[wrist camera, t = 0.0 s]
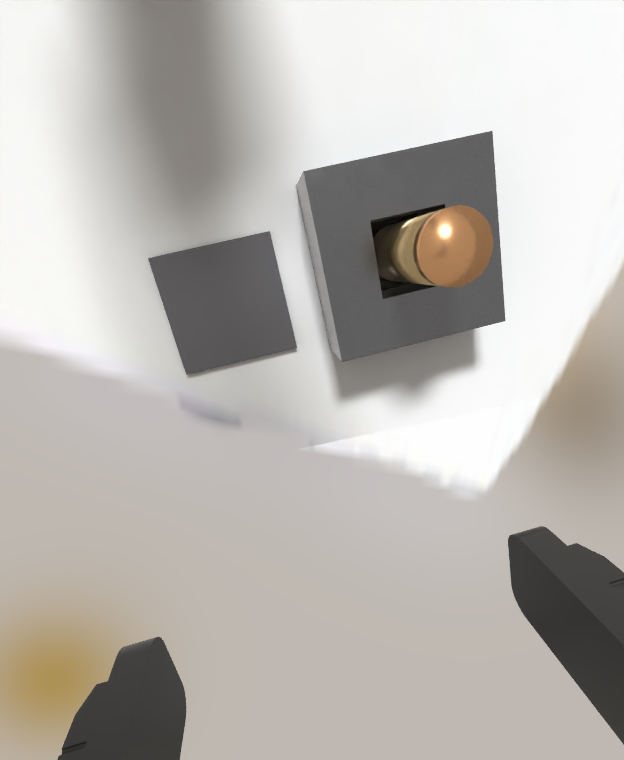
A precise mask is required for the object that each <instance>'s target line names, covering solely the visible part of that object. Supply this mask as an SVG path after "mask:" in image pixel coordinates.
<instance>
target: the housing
mask: <svg viewBox="0 0 624 760" xmlns="http://www.w3.org/2000/svg"><path fill="white" fill-rule="evenodd" d="M296 187H297V191H298V196H299V201H300V206H301V210H302V215H303V220H304V225H305V230H306V234H307V239H308V244H309V249H310V253H311V258H312V263H313V268H314V273H315V277H316V282H317V287H318V292H319V297H320V301H321V306H322V311H323V316H324V320H325V325H326V330H327V335H328V340H329V344H330V349H331V350H332V351H333V353H334V354H335V355H336V356H337V357H338V358H339V359H340V360H341V361H342V362H343V361H347V360H351V359H355V358H359V357H363V356H367V355H371V354H375V353H379V352H383V351H387V350H391V349H395V348H399V347H403V346H407V345H411V344H415V343H419V342H423V341H427V340H431V339H435V338H439V337H443V336H447V335H451V334H455V333H459V332H463V331H467V330H471V329H475V328H479V327H483V326H487V325H491V324H495V323H499V322H503V321H505V310H504V295H503V280H502V266H501V251H500V237H499V222H498V207H497V193H496V178H495V164H494V149H493V134H492V131H490V132H485V133H480V134H476V135H471V136H466V137H462V138H457V139H452V140H448V141H443V142H438V143H434V144H429V145H424V146H420V147H415V148H410V149H406V150H401V151H396V152H392V153H387V154H382V155H378V156H373V157H368V158H364V159H359V160H354V161H350V162H345V163H340V164H336V165H331V166H326V167H322V168H317V169H312V170H308V171H303V173H302V175H301V177H300V179H299V181H298V183H297V185H296ZM457 205H463V206H469V207H472V208H474V209H476V210H477V211H479V212H480V213H481V214H482V215H483V216H484V217H485V218H486V219H487V221H488V223H489V225H490V227H491V230H492V234H493V250H492V255H491V258H490V261H489V263H488V265H487V266H486V268H485V270H484V271H483V272H482V273H481V274H480V275H479V277H477V278H476V279H475V280H474V281H472V282H470V283H469V284H466V285H464V286H461V287H443V286H434V285H424V284H415V283H412V284H408V285H404V286H400V287H395V288H391V289H387V290H383V291H381V285H380V279H379V273H378V267H377V260H376V254H375V248H374V242H373V236H372V229H371V223H373V222H378V221H382V220H387V219H391V218H396V217H400V216H404V215H409V214H413V213H418V214H419V216H421V215H425V214H428V213H431V212H435V211H438V210H441V209H445V208H448V207H451V206H457Z"/></svg>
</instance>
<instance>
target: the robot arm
mask: <svg viewBox="0 0 624 760" xmlns="http://www.w3.org/2000/svg"><path fill="white" fill-rule="evenodd" d="M508 547H509V559H510V572H511V584H512V590H513V593H514V596H515V599H516V601H517V603H518V605H519V607H520V609H521V611H522V612H523V614H524V615H525V617H526V618H527V620H528V621H529V622H530V624H531V625H532V626H533V627H534V629H535V630H536V631H537V632H538V634H539V635H540V636H541V638H542V639H543V640H544V642H545V643H546V644H547V645H548V647H549V648H550V649H551V651H552V652H553V653H554V655H555V656H556V657H557V658H558V660H559V661H560V662H561V664H562V665H563V666H564V668H565V669H566V670H567V671H568V673H569V674H570V675H571V677H572V678H573V679H574V681H575V682H576V683H577V684H578V686H579V687H580V688H581V690H582V691H583V692H584V693H585V695H586V696H587V697H588V699H589V700H590V701H591V703H592V704H593V705H594V706H595V708H596V709H597V710H598V712H599V713H600V714H601V716H602V717H603V718H604V719H605V721H606V722H607V723H608V725H609V726H610V727H611V729H612V730H613V731H614V732H615V734H616V735H617V736H618V738H619V739H620V740H621V741H622V743H623V744H624V573H623V572H622V571H621V570H620V569H619V568H617V567H616V566H615V565H614V564H613V563H611V562H610V561H609V560H608V559H607V558H605V557H604V556H602V555H600V554H597V553H596V552H593V551H591V550H589V549H587V548H585V547H583V546H581V545H579V544H577V543H576V544H573V545H569V546H567V545H566V544H564V543H563V542H562V541H561V540H560V539H559V538H558V537H557V536H556V535H554V534H553V533H552V532H551V531H550V530H549V529H547V528H546V527H541V526H540V527H537V528H534V529H530V530H527V531H524V532H520V533H517V534H513V535H510V536H509V539H508ZM185 719H186V698H185V691H184V687H183V684H182V681H181V679H180V677H179V675H178V673H177V671H176V668H175V666H174V664H173V661H172V659H171V657H170V655H169V652H168V650H167V648H166V646H165V643H164V641H163V640H162V639H161V638H160V637H156V638H153V639H149V640H146V641H143V642H139V643H135V644H132V645H129V646H125V647H123V648H121V650H120V651H119V653H118V655H117V657H116V660H115V663H114V666H113V668H112V671H111V674H110V677H109V680H108V681H107V682H104V683H100V684H97V685H96V686H95V687H94V689H93V690H92V692H91V693H90V695H89V696H88V697H87V699H86V700H85V702H84V703H83V705H82V706H81V708H80V709H79V710H78V712H77V713H76V715H75V717H74V719H73V722H72V724H71V727H70V729H69V732H68V735H67V737H66V740H65V742H64V745H63V747H62V755H60V756H59V757H58V760H180V752H181V746H182V740H183V733H184V726H185Z"/></svg>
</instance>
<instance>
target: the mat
mask: <svg viewBox="0 0 624 760" xmlns="http://www.w3.org/2000/svg"><path fill="white" fill-rule="evenodd" d="M148 259H149V262H150V265H151V268H152V271H153V275H154V278H155V281H156V284H157V287H158V290H159V293H160V296H161V299H162V302H163V305H164V308H165V311H166V314H167V317H168V320H169V323H170V326H171V329H172V332H173V335H174V338H175V341H176V344H177V347H178V350H179V353H180V356H181V359H182V362H183V365H184V368H185V371H186V374H191V373H195V372H200V371H204V370H208V369H212V368H216V367H220V366H224V365H228V364H232V363H236V362H240V361H244V360H248V359H252V358H256V357H260V356H264V355H269V354H273V353H277V352H281V351H285V350H289V349H293V348H297V346H296V342H295V337H294V333H293V329H292V325H291V320H290V316H289V312H288V308H287V303H286V299H285V295H284V291H283V286H282V282H281V278H280V274H279V269H278V265H277V261H276V257H275V252H274V248H273V244H272V240H271V235H270V231H269V232H264V233H260V234H255V235H251V236H246V237H242V238H237V239H233V240H228V241H224V242H220V243H215V244H211V245H206V246H202V247H197V248H193V249H188V250H184V251H179V252H175V253H170V254H166V255H161V256H157V257H153V258H148Z"/></svg>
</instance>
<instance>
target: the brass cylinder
mask: <svg viewBox="0 0 624 760" xmlns="http://www.w3.org/2000/svg"><path fill="white" fill-rule="evenodd" d="M373 242H374V248H375V254H376V260H377V267H378V273H379V276H380V277H382V278H383V279H386V280H389V281H397V282H406V283H415V284H424V285H434V286H443V287H461V286H464V285H466V284H469V283H470V282H472V281H474V280H475V279H476V278H477V277H479V275H480V274H481V273H482V272H483V271H484V270H485V268H486V266H487V265H488V263H489V261H490V258H491V255H492V250H493V234H492V230H491V227H490V225H489V223H488V221H487V219H486V218H485V217H484V216H483V215H482V214H481V213H480V212H479V211H477V210H476V209H474V208H472V207H469V206H463V205H457V206H451V207H448V208H445V209H441V210H438V211H435V212H431V213H428V214H425V215H421V216H418V217H415V218H412V219H408V220H405V221H402V222H398V223H395V224H392V225H388V226H386V227H384V228H383V229H381V230H380V231H379V232H378V233H377V234H376V235H375V237H374V238H373Z"/></svg>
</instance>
